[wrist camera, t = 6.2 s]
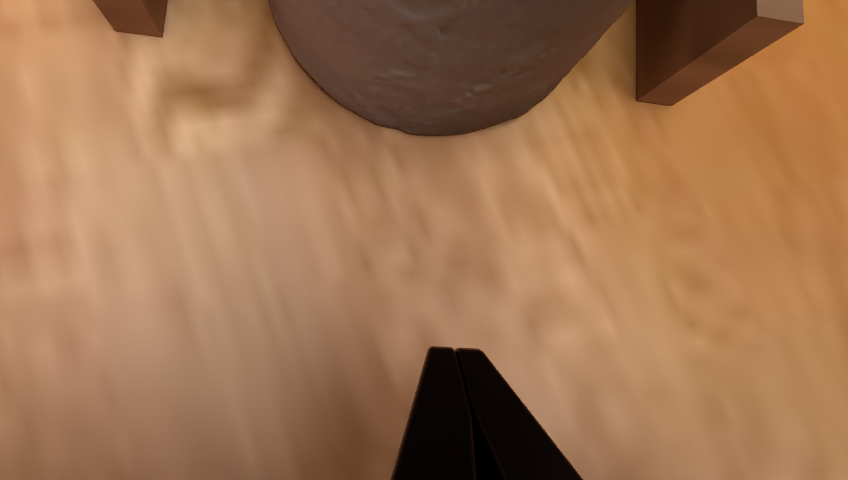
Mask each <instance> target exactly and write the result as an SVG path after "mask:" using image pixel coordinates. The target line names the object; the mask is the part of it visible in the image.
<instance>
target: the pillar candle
mask: <svg viewBox="0 0 848 480" xmlns="http://www.w3.org/2000/svg"><path fill="white" fill-rule="evenodd" d="M268 1H269V5H270V8H271V11H272V14H273V17H274V20H275V22H276V24H277V26H278V29H279V31H280V32H281V34H282V36H283V38H284V39H285V41H286V43H287V45H288V46H289V48H290V50H291V52H292V54H293V55H294V57H295V58H296V60H297V61H298V62H299V63H300V65H301V66H302V67H303V68H304V69H305V71H306V72H307V73H308V74H309V75H310V76H311V77H312V78H313V79H314V81H315V82H316V83H317V84H318V85H319V86H320V87H321V88H322V89H323V90H324V91H325V92H326V93H327V94H328V95H330V96H331V97H332V98H334V99H335V100H336V101H337V102H338V103H340V104H341V105H343V106H345V107H346V108H348V109H350V110H352V111H353V112H355V113H356V114H358V115H360V116H362V117H364V118H366V119H368V120H370V121H371V122H374V123H375V124H378V125H382V126H384V127H390V128H394V129H400V130H403V131H405V132H408V133H412V134H419V135H454V134H462V133H468V132H473V131H477V130H479V129H484V128H486V127H490V126H493V125H496V124H499V123H500V122H503V121H505V120H507V119H515V118H518V117H519V116H521V115H523V114H525V113H526V112H528V111H529V110H530V109H531V108H532V107H534V106H535V105H536V104H538V103H539V102H541V101H542V100H543V99H544V98H546V97H547V96H548V94H549V93H550V92H552V91H553V90H554V89H555V87H556V86H557V85H558V84H559V82H560V81H561V80H562V79H563V78H564V77H565V76H566V75H567V74H568V73H569V72H570V71H571V69H572V68H573V67H574V66H575V65H576V63H577V62H578V61H579V60H580V59H581V58H583V57H584V56H585V55H586V54H587V52H588V51H589V50H590V49H591V48H592V47H593V46H594V45H595V44H596V43H597V41H598V40H599V39H600V37H601V36H602V35H603V34H604V33H605V32H606V31H607V29H608V28H609V27H610V26H611V25H612V24H613V23H614V22H615V21H616V20H617V19H618V18H619V17H620V16H621V15H622V14H623V12H624V11H625V10H626V9H627V8H628V7H629V6H630V5H631V3H632V2H633V1H634V0H268Z"/></svg>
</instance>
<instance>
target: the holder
mask: <svg viewBox="0 0 848 480" xmlns="http://www.w3.org/2000/svg"><path fill="white" fill-rule="evenodd" d="M93 1H94V2H95V4H96V5H97V7H98V8H99V9H100V11H101V12H102V13H103V15H104V16H105V18H106V19H107V20H108V22H109V23H110V25H111V26H112V27H113V29H114V30H115V31H121V32H128V33H136V34H143V35H151V36H158V37H162V35H163V28H164V21H165V14H166V7H167V0H93ZM802 24H804V16H803V0H637V101H642V102H649V103H657V104H664V105H671V106H672V105H674V104H675V103H677V102H679V101H680V100H682V99H683V98H685V97H687V96H688V95H690V94H691V93H693V92H695V91H696V90H698V89H699V88H701V87H703V86H704V85H706V84H707V83H709V82H711V81H712V80H714V79H716V78H717V77H719V76H720V75H722V74H724V73H725V72H727V71H728V70H730V69H732V68H733V67H735V66H736V65H738V64H740V63H741V62H743V61H745V60H746V59H748V58H749V57H751V56H753V55H754V54H756V53H757V52H759V51H761V50H762V49H764V48H765V47H767V46H769V45H770V44H772V43H773V42H775V41H777V40H778V39H780V38H782V37H783V36H785V35H786V34H788V33H790V32H791V31H793V30H794V29H796V28H798V27H799V26H801V25H802Z"/></svg>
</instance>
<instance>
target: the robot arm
mask: <svg viewBox="0 0 848 480" xmlns="http://www.w3.org/2000/svg"><path fill="white" fill-rule="evenodd" d="M391 480H583V479H582V478H581V476H580V475H579V474H578V473H577V471H576V470H575V469H574V467H573V466H572V465H571V464H570V462H569V461H568V460H567V458H566V457H565V456H564V455H563V453H562V452H561V451H560V450H559V448H558V447H557V446H556V444H555V443H554V442H553V441H552V439H551V438H550V437H549V435H548V434H547V433H546V432H545V430H544V429H543V428H542V426H541V425H540V424H539V423H538V421H537V420H536V419H535V418H534V416H533V415H532V414H531V412H530V411H529V410H528V409H527V407H526V406H525V405H524V403H523V402H522V401H521V400H520V398H519V397H518V396H517V395H516V393H515V392H514V391H513V389H512V388H511V387H510V386H509V384H508V383H507V382H506V380H505V379H504V378H503V377H502V375H501V374H500V373H499V372H498V370H497V369H496V368H495V366H494V365H493V364H492V363H491V361H490V360H489V359H488V357H487V356H486V355H485V354H484V352H483V351H481V350H480V349H473V348H457V349H455V350H454V349H453V348H451V347H436V346H432V347H430V348H429V349H428V351H427V355H426V358H425V362H424V365H423V369H422V372H421V376H420V379H419V383H418V386H417V390H416V393H415V397H414V400H413V403H412V407H411V410H410V414H409V417H408V421H407V424H406V428H405V431H404V435H403V438H402V442H401V445H400V449H399V452H398V456H397V459H396V462H395V466H394V469H393V473H392V476H391Z"/></svg>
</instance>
